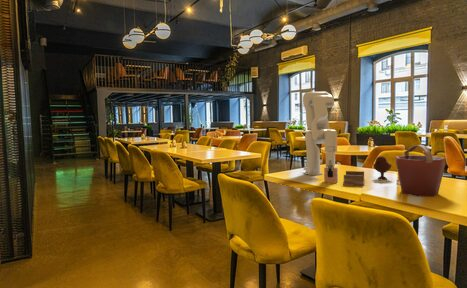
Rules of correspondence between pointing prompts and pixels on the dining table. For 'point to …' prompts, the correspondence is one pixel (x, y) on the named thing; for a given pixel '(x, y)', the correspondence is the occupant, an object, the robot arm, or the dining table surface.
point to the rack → (354, 178)
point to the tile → (331, 179)
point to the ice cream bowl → (382, 166)
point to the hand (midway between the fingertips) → (331, 176)
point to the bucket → (420, 172)
